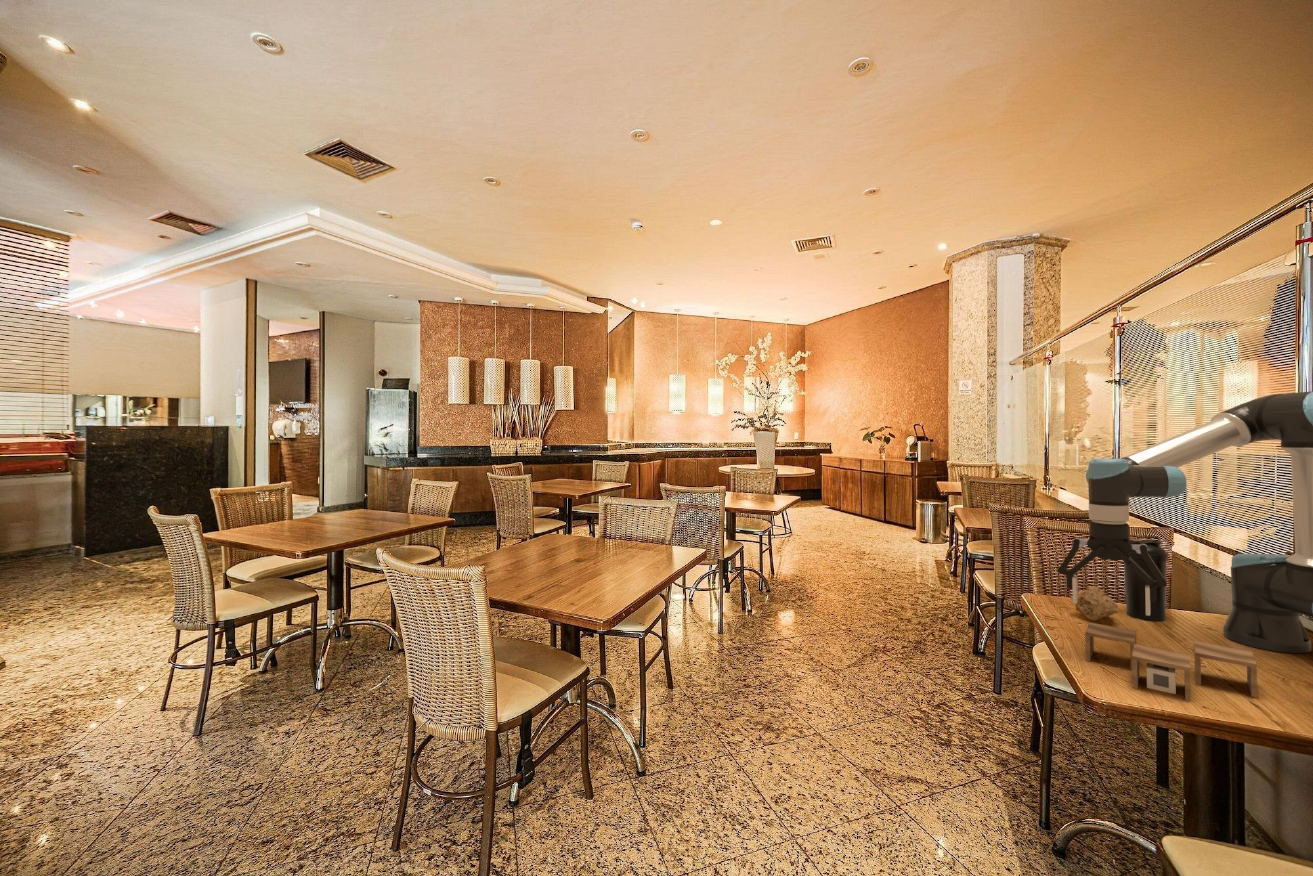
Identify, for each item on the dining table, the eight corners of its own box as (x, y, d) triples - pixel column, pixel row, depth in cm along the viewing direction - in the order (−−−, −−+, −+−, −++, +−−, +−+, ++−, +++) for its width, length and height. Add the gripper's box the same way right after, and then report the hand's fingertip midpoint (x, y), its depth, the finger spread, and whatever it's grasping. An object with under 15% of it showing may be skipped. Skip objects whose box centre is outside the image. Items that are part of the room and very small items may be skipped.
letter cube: (1147, 681, 120) (1147, 660, 120) (1175, 687, 116) (1175, 666, 116) (1146, 688, 116) (1146, 667, 116) (1175, 694, 113) (1175, 673, 113)
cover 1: (1089, 649, 137) (1089, 622, 137) (1136, 659, 131) (1136, 630, 131) (1085, 660, 130) (1085, 632, 130) (1135, 671, 124) (1134, 641, 124)
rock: (1066, 613, 164) (1066, 581, 164) (1098, 612, 165) (1097, 580, 165) (1101, 627, 152) (1101, 592, 152) (1135, 626, 153) (1134, 591, 153)
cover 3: (1194, 671, 124) (1194, 640, 124) (1252, 682, 117) (1251, 651, 117) (1195, 684, 117) (1195, 652, 117) (1257, 697, 111) (1256, 664, 111)
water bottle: (1178, 623, 154) (1176, 544, 154) (1137, 621, 156) (1135, 543, 156) (1153, 612, 164) (1151, 537, 164) (1115, 610, 166) (1113, 537, 166)
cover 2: (1134, 674, 123) (1134, 644, 123) (1189, 686, 116) (1189, 654, 116) (1132, 688, 116) (1132, 656, 116) (1191, 701, 110) (1190, 667, 110)
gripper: (1179, 524, 125) (1181, 615, 125) (1048, 515, 142) (1050, 594, 142) (1180, 529, 119) (1182, 623, 119) (1043, 518, 137) (1045, 601, 137)
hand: (1110, 608), depth 131 cm, fingers open, 13 cm apart
